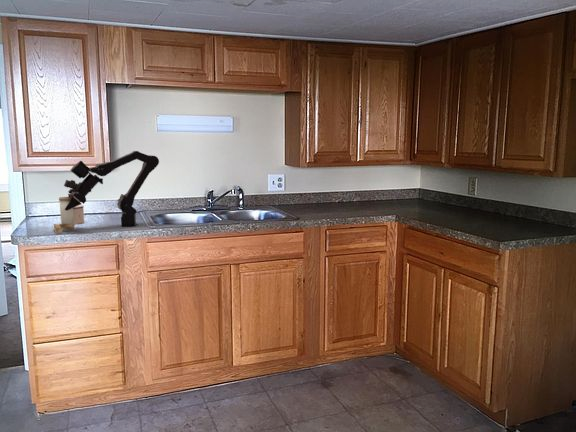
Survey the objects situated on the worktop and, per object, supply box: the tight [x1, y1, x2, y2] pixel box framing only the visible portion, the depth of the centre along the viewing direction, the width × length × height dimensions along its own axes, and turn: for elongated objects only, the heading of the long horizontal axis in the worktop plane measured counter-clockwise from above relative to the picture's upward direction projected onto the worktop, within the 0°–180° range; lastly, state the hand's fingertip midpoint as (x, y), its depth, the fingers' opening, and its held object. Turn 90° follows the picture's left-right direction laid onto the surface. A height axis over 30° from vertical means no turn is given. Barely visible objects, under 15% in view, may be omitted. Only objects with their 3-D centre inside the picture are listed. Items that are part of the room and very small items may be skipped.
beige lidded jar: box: [73, 203, 85, 225], centre depth 262 cm, size 12×9×12 cm
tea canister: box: [58, 196, 74, 224], centre depth 241 cm, size 6×6×12 cm
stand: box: [53, 222, 75, 235], centre depth 242 cm, size 9×12×3 cm
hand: (64, 209), depth 240 cm, fingers closed on tea canister, 6 cm apart
